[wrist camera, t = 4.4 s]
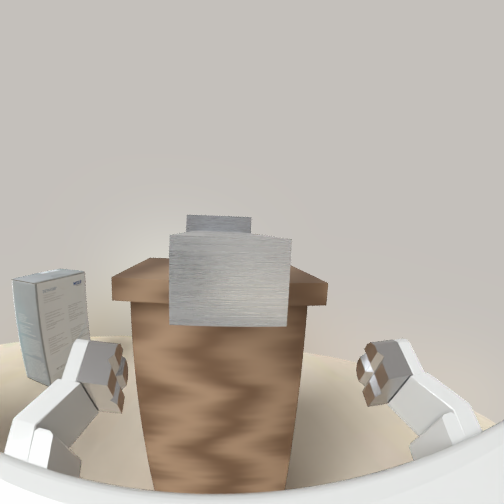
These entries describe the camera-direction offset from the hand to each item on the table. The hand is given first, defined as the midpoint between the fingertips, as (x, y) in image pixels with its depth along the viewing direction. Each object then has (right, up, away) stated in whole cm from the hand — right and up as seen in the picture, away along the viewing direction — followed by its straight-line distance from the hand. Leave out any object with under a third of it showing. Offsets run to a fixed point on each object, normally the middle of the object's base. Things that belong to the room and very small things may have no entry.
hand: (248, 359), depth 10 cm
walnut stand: (-4, -24, +18) cm, 30 cm away
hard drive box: (-39, -21, +42) cm, 61 cm away
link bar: (-2, +2, +12) cm, 12 cm away
